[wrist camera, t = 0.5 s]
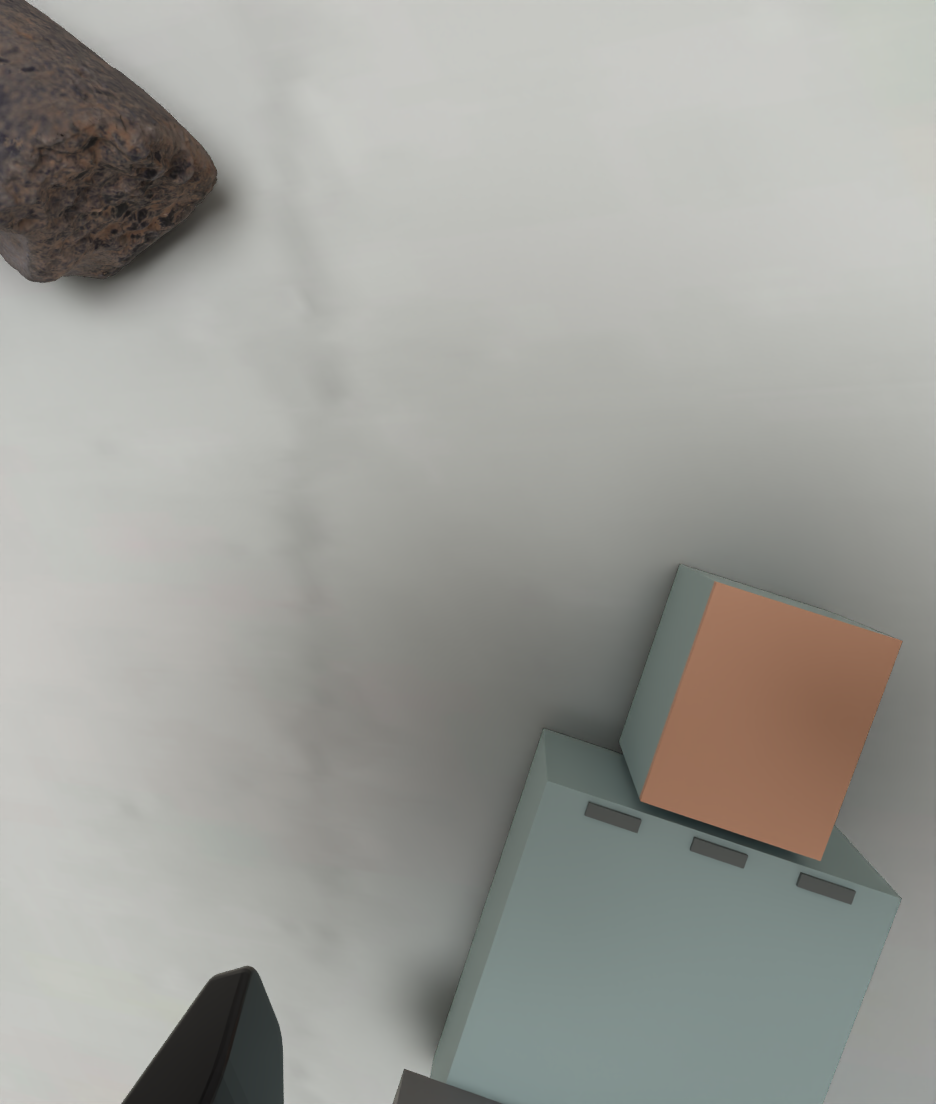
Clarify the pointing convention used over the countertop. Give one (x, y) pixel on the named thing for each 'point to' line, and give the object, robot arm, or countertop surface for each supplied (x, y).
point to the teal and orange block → (754, 711)
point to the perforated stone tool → (84, 156)
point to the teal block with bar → (653, 955)
